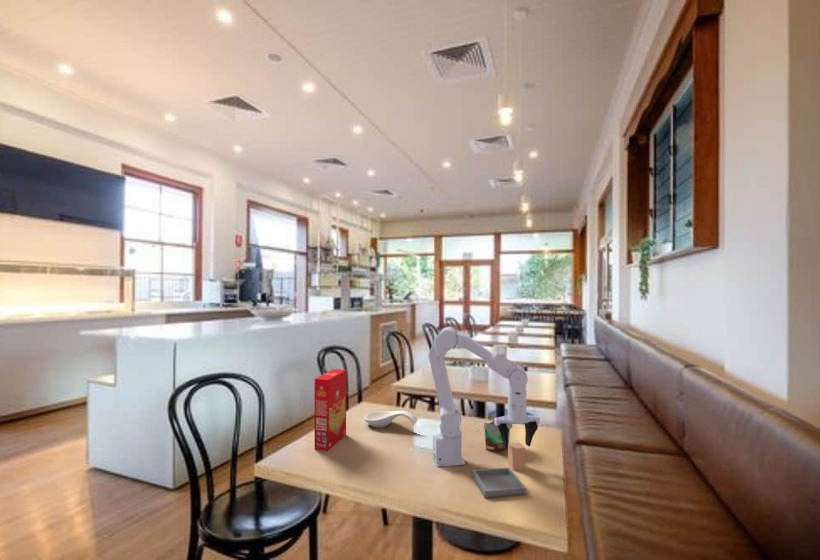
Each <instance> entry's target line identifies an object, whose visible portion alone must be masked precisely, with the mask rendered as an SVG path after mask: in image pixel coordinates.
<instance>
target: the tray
mask: <svg viewBox="0 0 820 560" xmlns="http://www.w3.org/2000/svg"><path fill="white" fill-rule="evenodd" d="M471 477H472V478H473V481H474V482H475V484H476V485H477V487H478V489H479V490H480V492H481V494H482V495H483V497H484V499H493V498H503V497H505V498H506V497H517V496H518V497H519V496H526V495H527V487H526V486H525V485H524V484H523V482H522V481H521V480H520V479H519V477H518V476H517V475H516V474H515V472H514V470H512V469H511V467H510V466H508V467H497V468H480V469H472V470H471Z"/></svg>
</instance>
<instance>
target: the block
mask: <svg viewBox="0 0 820 560" xmlns="http://www.w3.org/2000/svg"><path fill="white" fill-rule="evenodd" d="M507 452H508V453H507V465H508V467H509V468H510V469H511V470H512V471H522V470H525V468H526V467H525V466H526V463H525V462H526V447H525V446H524V445H523V444H522V443H521V442H509V443H508V450H507Z"/></svg>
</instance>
